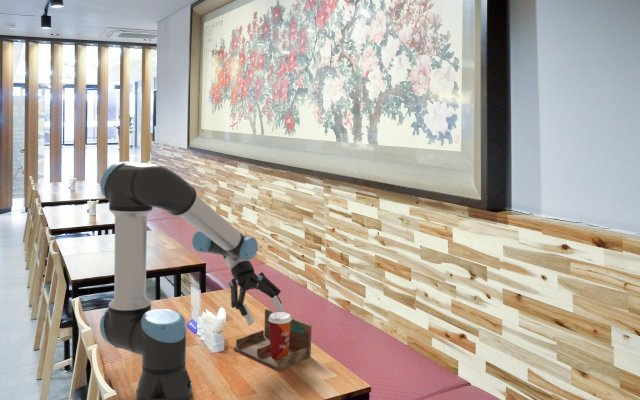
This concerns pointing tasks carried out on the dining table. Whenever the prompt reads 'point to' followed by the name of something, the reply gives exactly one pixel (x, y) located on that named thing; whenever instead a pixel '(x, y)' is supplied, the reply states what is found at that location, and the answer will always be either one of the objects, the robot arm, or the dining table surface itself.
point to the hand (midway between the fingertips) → (267, 318)
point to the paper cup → (279, 334)
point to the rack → (260, 344)
